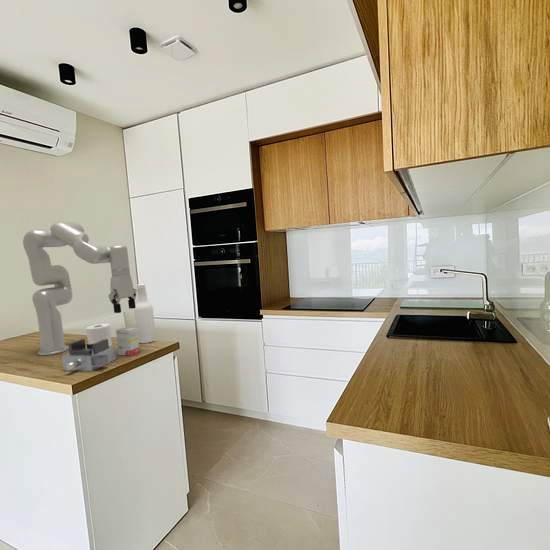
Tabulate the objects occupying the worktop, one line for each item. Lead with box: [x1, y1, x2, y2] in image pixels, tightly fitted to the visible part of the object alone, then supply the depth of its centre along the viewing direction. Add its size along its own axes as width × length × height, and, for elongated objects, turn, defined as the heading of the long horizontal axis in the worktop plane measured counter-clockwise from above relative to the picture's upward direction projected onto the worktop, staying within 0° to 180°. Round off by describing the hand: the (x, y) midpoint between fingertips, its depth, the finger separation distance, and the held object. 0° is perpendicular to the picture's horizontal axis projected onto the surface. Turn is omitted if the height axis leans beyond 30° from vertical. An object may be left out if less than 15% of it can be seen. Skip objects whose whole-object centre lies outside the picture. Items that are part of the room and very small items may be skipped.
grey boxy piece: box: [61, 338, 118, 372], centre depth 136 cm, size 18×18×10 cm
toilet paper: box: [85, 323, 113, 346], centre depth 158 cm, size 10×10×12 cm
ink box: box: [115, 327, 140, 357], centre depth 150 cm, size 9×5×12 cm, turn 66°
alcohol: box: [133, 283, 157, 344], centre depth 168 cm, size 9×9×30 cm
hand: (125, 310), depth 148 cm, fingers open, 9 cm apart
